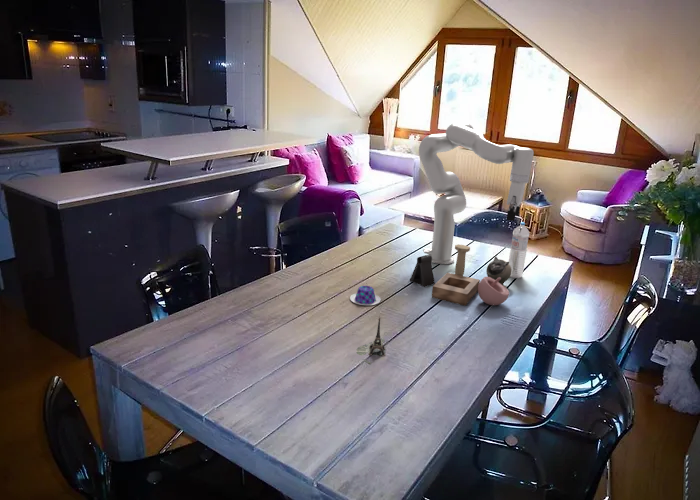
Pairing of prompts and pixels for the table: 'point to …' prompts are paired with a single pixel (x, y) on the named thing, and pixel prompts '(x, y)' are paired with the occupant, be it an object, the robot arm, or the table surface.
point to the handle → (461, 259)
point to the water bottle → (518, 250)
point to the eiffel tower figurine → (373, 346)
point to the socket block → (455, 289)
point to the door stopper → (423, 271)
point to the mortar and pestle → (492, 291)
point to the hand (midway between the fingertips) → (512, 217)
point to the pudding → (365, 296)
